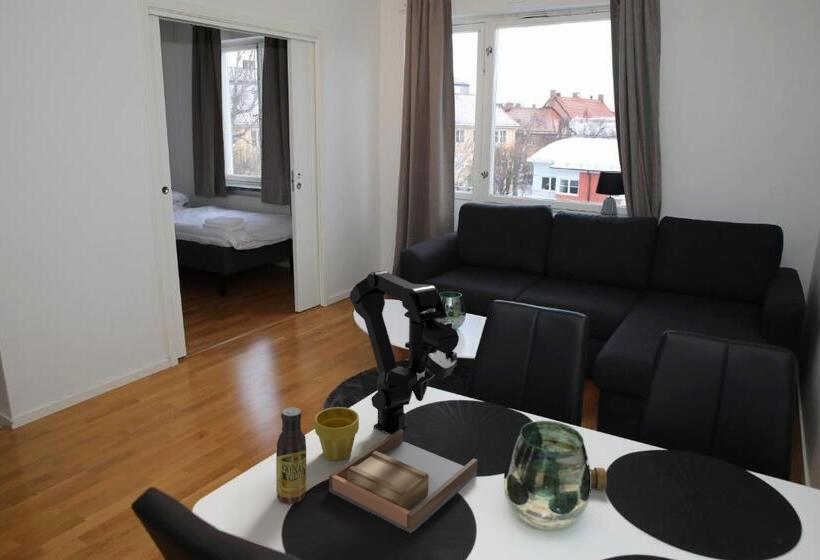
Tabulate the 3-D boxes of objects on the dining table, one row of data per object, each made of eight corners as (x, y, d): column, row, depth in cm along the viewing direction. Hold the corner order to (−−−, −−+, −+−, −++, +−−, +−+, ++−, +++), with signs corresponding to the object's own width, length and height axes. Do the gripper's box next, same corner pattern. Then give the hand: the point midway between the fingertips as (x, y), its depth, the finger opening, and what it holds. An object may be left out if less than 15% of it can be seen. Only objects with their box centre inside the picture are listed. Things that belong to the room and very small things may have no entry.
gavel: (547, 429, 149) (587, 431, 149) (545, 446, 150) (586, 448, 149) (560, 471, 129) (607, 474, 128) (559, 490, 130) (605, 493, 129)
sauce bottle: (281, 509, 122) (277, 421, 117) (273, 492, 127) (269, 408, 122) (311, 500, 125) (309, 415, 119) (302, 484, 130) (300, 402, 125)
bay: (329, 491, 128) (328, 475, 127) (400, 443, 147) (400, 429, 146) (410, 533, 115) (411, 516, 114) (476, 475, 134) (477, 459, 133)
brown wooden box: (347, 490, 126) (347, 469, 125) (377, 469, 134) (377, 449, 133) (399, 517, 118) (399, 494, 117) (428, 493, 126) (428, 472, 125)
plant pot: (335, 471, 135) (335, 432, 133) (306, 454, 142) (305, 417, 139) (367, 452, 143) (367, 416, 140) (338, 437, 149) (338, 402, 147)
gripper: (426, 359, 126) (424, 426, 130) (471, 335, 140) (468, 396, 144) (385, 347, 132) (385, 411, 136) (433, 325, 146) (431, 383, 151)
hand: (419, 400), depth 142 cm, fingers closed
